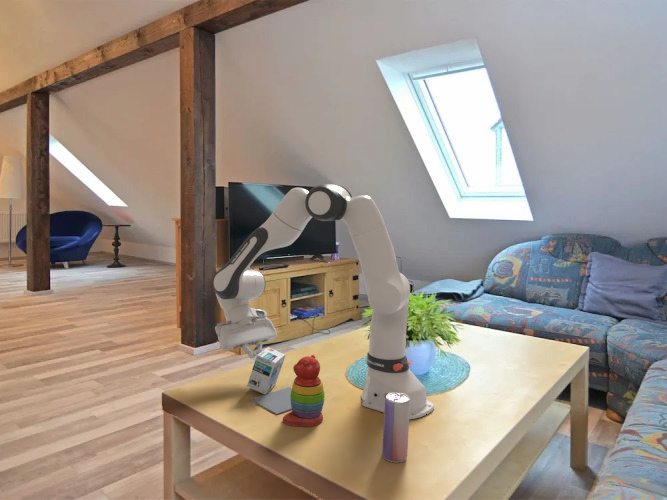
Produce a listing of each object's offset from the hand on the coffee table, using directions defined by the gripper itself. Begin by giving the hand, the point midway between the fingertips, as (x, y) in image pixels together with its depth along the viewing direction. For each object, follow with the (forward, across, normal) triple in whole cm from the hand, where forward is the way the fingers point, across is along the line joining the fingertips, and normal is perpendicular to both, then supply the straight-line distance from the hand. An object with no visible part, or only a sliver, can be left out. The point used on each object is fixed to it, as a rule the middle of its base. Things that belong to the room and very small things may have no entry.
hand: (257, 356), depth 159 cm
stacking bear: (+26, -3, -13) cm, 30 cm away
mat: (+17, 0, -4) cm, 17 cm away
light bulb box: (+8, 0, +4) cm, 9 cm away
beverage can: (+46, 0, -34) cm, 58 cm away
